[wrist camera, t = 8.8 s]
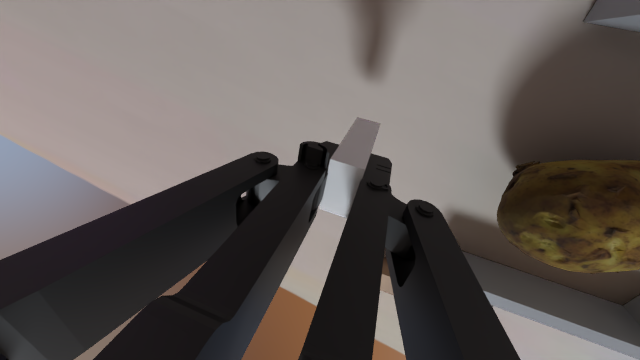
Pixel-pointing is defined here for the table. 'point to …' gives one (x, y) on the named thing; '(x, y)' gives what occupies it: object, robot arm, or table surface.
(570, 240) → the potato
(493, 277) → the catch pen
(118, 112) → the table surface
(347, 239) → the robot arm
